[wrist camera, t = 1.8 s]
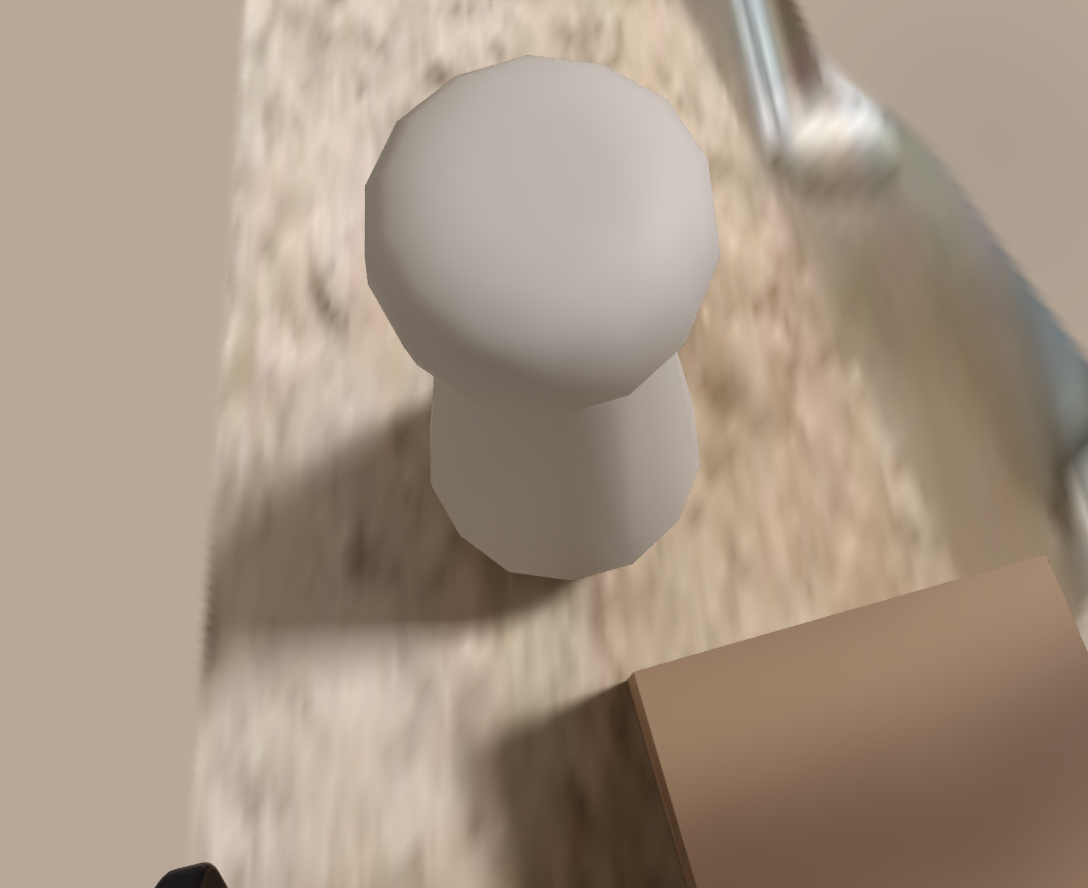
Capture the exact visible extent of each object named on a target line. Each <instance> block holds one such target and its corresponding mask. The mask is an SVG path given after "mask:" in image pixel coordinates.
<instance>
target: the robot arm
mask: <svg viewBox="0 0 1088 888" xmlns="http://www.w3.org/2000/svg"><path fill="white" fill-rule="evenodd" d="M155 888H228V887H227V885H226V883H225V882H224V880H223V878H222V876H221V875H220V873H219V871H218V870H217V868H216V867H215V866H214V865H212V864H211V863H209V862H206V863H205V862H203V863H199V864H195V865H191V866H187V867H182V868H178V869H175V870H172V871H170V872H168V873H167V874H166V875H165V876H164V877H162V879H161V880H160V881H159V882H158V884H157V885H156V887H155Z"/></svg>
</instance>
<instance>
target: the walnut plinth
mask: <svg viewBox="0 0 1088 888" xmlns="http://www.w3.org/2000/svg"><path fill="white" fill-rule="evenodd" d="M627 682H628V686H629V689H630V692H631V696H632V699H633V703H634V706H635V710H636V713H637V716H638V720H639V723H640V727H641V730H642V734H643V737H644V741H645V744H646V747H647V751H648V754H649V758H650V761H651V765H652V768H653V771H654V775H655V778H656V782H657V785H658V789H659V792H660V796H661V799H662V802H663V806H664V809H665V813H666V816H667V820H668V823H669V826H670V830H671V833H672V837H673V840H674V844H675V847H676V851H677V854H678V857H679V861H680V864H681V868H682V871H683V875H684V878H685V882H686V885H687V888H1088V652H1087V650H1086V647H1085V645H1084V643H1083V640H1082V638H1081V636H1080V633H1079V631H1078V628H1077V626H1076V624H1075V621H1074V619H1073V617H1072V614H1071V612H1070V610H1069V607H1068V605H1067V603H1066V600H1065V598H1064V596H1063V593H1062V591H1061V589H1060V586H1059V584H1058V582H1057V579H1056V577H1055V574H1054V572H1053V570H1052V567H1051V565H1050V563H1049V560H1048V558H1047V556H1046V554H1045V555H1042V556H1038V557H1035V558H1031V559H1028V560H1024V561H1021V562H1017V563H1014V564H1010V565H1007V566H1003V567H1000V568H996V569H993V570H989V571H986V572H982V573H979V574H975V575H972V576H968V577H965V578H961V579H958V580H954V581H951V582H947V583H944V584H940V585H937V586H933V587H930V588H926V589H923V590H919V591H916V592H912V593H909V594H905V595H902V596H898V597H895V598H891V599H888V600H884V601H881V602H877V603H874V604H870V605H867V606H863V607H860V608H856V609H853V610H849V611H846V612H842V613H839V614H835V615H832V616H828V617H825V618H821V619H818V620H814V621H811V622H807V623H804V624H800V625H797V626H793V627H790V628H786V629H783V630H779V631H776V632H772V633H769V634H765V635H762V636H758V637H755V638H751V639H748V640H744V641H741V642H737V643H734V644H730V645H727V646H723V647H720V648H716V649H713V650H709V651H706V652H702V653H699V654H695V655H692V656H688V657H685V658H681V659H678V660H674V661H671V662H667V663H664V664H660V665H657V666H653V667H650V668H646V669H643V670H639V671H636V672H633V674H632V675H631V676H630V677H629V678H628V680H627Z"/></svg>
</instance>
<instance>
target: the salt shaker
mask: <svg viewBox="0 0 1088 888" xmlns="http://www.w3.org/2000/svg"><path fill="white" fill-rule="evenodd" d="M719 258H720V252H719V243H718V234H717V225H716V218H715V210H714V203H713V195H712V188H711V180H710V173H709V165H708V158H707V157H706V155H705V154H704V153H703V151H702V150H701V148H700V147H699V145H698V144H697V142H696V141H695V139H694V138H693V136H692V135H691V133H690V132H689V130H688V129H687V128H686V126H685V125H684V123H683V122H682V120H681V119H680V117H679V116H678V114H677V113H676V111H675V110H674V108H673V107H672V106H671V104H670V103H669V101H668V100H667V99H666V98H664V97H662V96H660V95H658V94H657V93H655V92H653V91H651V90H649V89H647V88H646V87H644V86H642V85H640V84H638V83H636V82H635V81H633V80H631V79H629V78H627V77H625V76H624V75H622V74H620V73H618V72H616V71H615V70H613V69H611V68H609V67H607V66H605V65H604V64H599V63H590V62H582V61H573V60H565V59H557V58H548V57H540V56H532V55H526V56H523V57H519V58H516V59H513V60H509V61H506V62H502V63H499V64H496V65H492V66H489V67H485V68H482V69H479V70H475V71H472V72H468V73H465V74H462V75H458V76H455V77H454V78H452V79H451V80H450V81H449V82H447V83H446V84H445V85H443V86H442V87H441V88H440V89H438V90H437V91H436V92H434V93H433V94H432V95H431V96H429V97H428V98H427V99H425V100H424V101H423V102H422V103H420V104H419V105H418V106H416V107H415V108H414V109H412V110H411V111H410V112H409V113H407V114H406V115H405V116H403V117H402V118H401V119H400V120H398V121H397V122H396V124H395V126H394V128H393V130H392V132H391V134H390V136H389V138H388V140H387V142H386V144H385V146H384V149H383V151H382V153H381V155H380V157H379V159H378V161H377V163H376V165H375V167H374V169H373V171H372V173H371V175H370V177H369V179H368V181H367V183H366V185H365V263H366V271H367V279H368V285H369V287H370V288H371V290H372V292H373V294H374V295H375V297H376V299H377V301H378V302H379V304H380V306H381V308H382V309H383V311H384V313H385V315H386V316H387V318H388V320H389V322H390V323H391V325H392V327H393V329H394V330H395V332H396V334H397V336H398V337H399V339H400V341H401V343H402V344H403V346H404V348H405V349H406V351H407V352H408V353H409V355H410V356H411V357H412V359H413V360H414V361H415V363H416V364H417V365H418V366H420V367H421V368H422V369H424V370H425V371H427V372H428V373H430V374H431V375H433V376H434V387H433V398H432V409H431V419H430V484H431V486H432V488H433V489H434V491H435V493H436V495H437V496H438V498H439V500H440V502H441V503H442V505H443V507H444V509H445V510H446V512H447V514H448V516H449V517H450V519H451V521H452V523H453V524H454V526H455V528H456V530H457V531H458V533H459V535H460V536H461V537H462V538H464V539H465V540H467V541H468V542H469V543H471V544H472V545H473V546H475V547H476V548H477V549H479V550H480V551H481V552H483V553H484V554H486V555H487V556H488V557H490V558H491V559H492V560H494V561H495V562H496V563H498V564H499V565H500V566H502V567H503V568H504V569H506V570H507V571H509V572H512V573H520V574H527V575H534V576H541V577H549V578H556V579H563V580H570V581H573V580H577V579H580V578H584V577H587V576H591V575H595V574H598V573H602V572H605V571H609V570H612V569H616V568H619V567H623V566H627V565H630V564H633V563H634V562H635V561H636V560H637V559H638V558H639V557H640V556H641V555H642V554H644V553H645V552H646V551H647V550H648V549H649V548H650V547H651V546H652V545H653V544H654V543H655V542H656V541H657V540H658V539H659V538H660V537H662V536H663V535H664V534H665V533H666V532H667V531H668V530H669V529H670V528H671V527H672V526H673V525H674V524H675V523H676V522H677V521H678V520H679V518H680V515H681V512H682V510H683V507H684V505H685V502H686V500H687V497H688V494H689V492H690V489H691V487H692V484H693V482H694V479H695V477H696V474H697V471H698V469H699V466H700V460H699V451H698V442H697V433H696V424H695V415H694V406H693V403H692V399H691V396H690V393H689V390H688V386H687V383H686V380H685V377H684V373H683V370H682V367H681V363H680V360H679V357H678V354H677V351H678V350H679V349H681V348H682V347H683V346H684V345H685V342H686V340H687V337H688V335H689V332H690V330H691V328H692V325H693V323H694V320H695V318H696V315H697V313H698V311H699V308H700V306H701V303H702V301H703V298H704V296H705V294H706V291H707V289H708V286H709V284H710V281H711V279H712V276H713V274H714V271H715V269H716V266H717V264H718V261H719Z"/></svg>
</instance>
